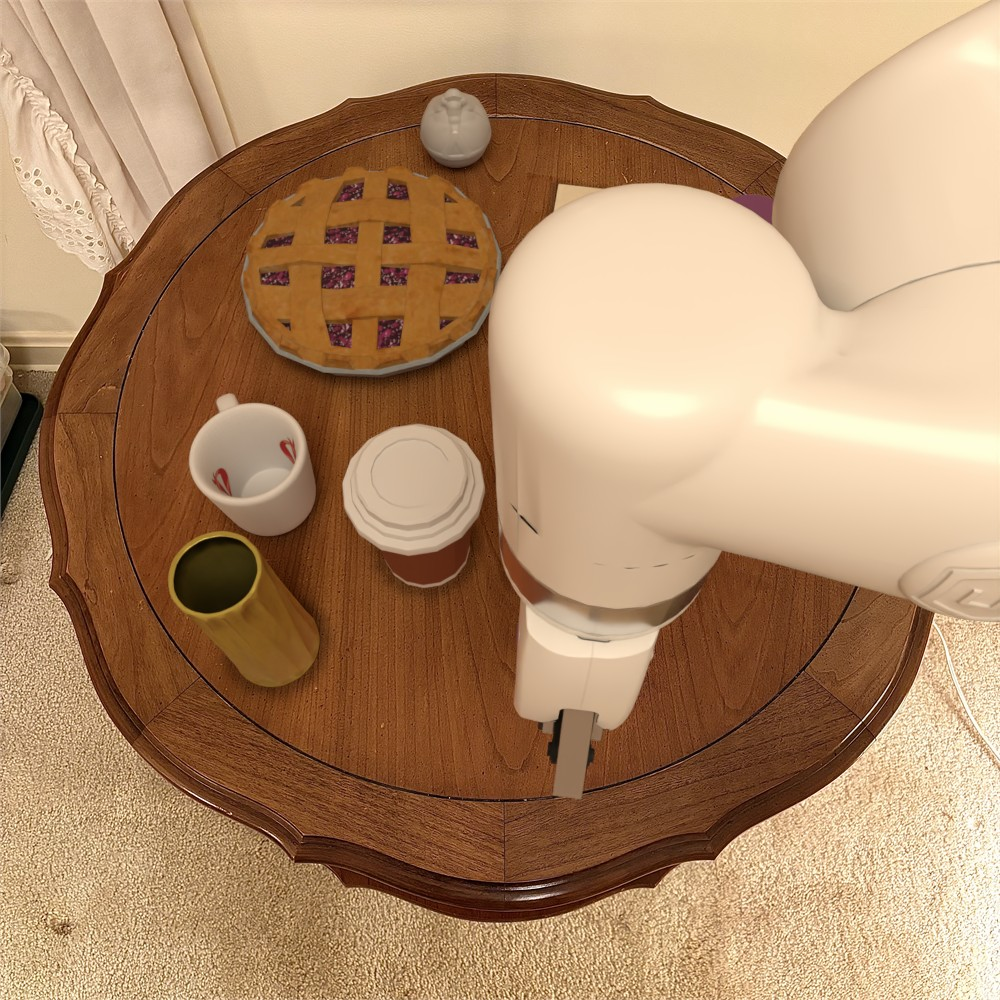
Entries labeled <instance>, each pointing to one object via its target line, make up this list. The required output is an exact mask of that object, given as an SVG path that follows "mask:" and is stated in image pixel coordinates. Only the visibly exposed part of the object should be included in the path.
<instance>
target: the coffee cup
mask: <svg viewBox="0 0 1000 1000" xmlns="http://www.w3.org/2000/svg"><path fill="white" fill-rule="evenodd" d="M341 488H342V498H343V499H342V500H343V508H344V512H345V514H346V515H347V517H348V519H349V520H350V523H352V525H353V528H354V529H355V530H356V532H357V534H358V535H359V536H360V537H361V538H363V539H365V540H366V541H367V542H369V543H370V544H372V545H373V546H375V547H376V548H378V550H379V552H380V553H381V555H382V557H383V559H384V561H385V563H386V565H387V566H388V568H389V570H390V571H391V573H392V575H393V576H394V577H396V578H397V579H399V580H400V581H401V582H403V583H405V584H406V585H409V586H413V587H417V588H422V589H426V588H433V587H439V586H442V585H444V584H446V583H448V582H449V581H451V580H452V579H454V578H456V577H457V576H458V575H459V573H460V572H461V571H462V570H463V568H464V567H465V566H466V565H467V561H468V558H469V553H470V551H471V538H472V529H473V524H474V523H475V522H476V520H477V519H478V518H479V516H480V514H481V509H482V506H483V501H484V498H485V494H486V485H485V479H484V473H483V468H482V463H481V462H480V460H479V458H478V457H477V455H475V453H474V451H473V450H472V449H471V447H470V445H469V444H468V442H466V441H465V440H463V439H461V438H460V437H458V436H457V435H455V434H454V433H451V432H450V431H449V430H447V429H445V428H443V427H437V426H433V425H427V424H423V423H414V424H407V425H406V424H405V425H400V426H393V427H390V428H388V429H386V430H384V431H382V432H380V433H379V434H377V435H374V436H373V437H371V438H369V439H367V441H366V442H364V443H363V445H362V446H361V447H360V448H359V449H358V450H357V452H356V453H355V454H354V455H353V456H352V457H351V458H350V460H349V463H348V466H347V468H346V471H345V475H344V477H343V480H342V483H341Z"/></svg>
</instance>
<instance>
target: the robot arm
mask: <svg viewBox="0 0 1000 1000" xmlns="http://www.w3.org/2000/svg"><path fill="white" fill-rule="evenodd" d="M602 189H603V190H599V191H596V192H593V193H590V194H586V195H584V196H582V197H580V198H578V199H576V200H574V201H572V202H569V203H567V204H565V205H563V206H562V207H560V208H559V209H557V210H556V211H554V210H553V211H552V212H551V213H550V214H548V215H547V216H546V217H544V218H543V219H542V220H541V221H540V222H539V223H538V224H536V225H535V226H534V227H533V228H532V229H531V230H529V231H528V232H527V233H526V235H525V236H524V237H523V238H522V239H521V241H520V242H519V243H518V245H517V246H516V247H515V248H514V249H513V251H512V253H511V255H510V256H509V257H508V260H507V261H506V263H505V265H504V267H503V269H502V270H501V272H500V277H499V279H498V282H497V285H496V289H495V292H494V295H493V298H492V302H491V307H490V311H489V313H488V335H487V336H488V337H487V354H488V355H487V357H488V374H489V391H490V407H491V424H492V440H493V443H492V444H493V454H494V455H493V456H494V463H495V491H496V505H497V520H498V521H497V522H498V543H499V545H498V546H499V551H500V559H501V563H502V567H503V570H504V572H505V575H506V577H507V579H508V580H509V582H510V584H511V587H512V588H513V590H514V591H515V593H516V595H517V596H518V597H519V598H520V603H519V613H518V614H519V615H518V621H519V628H518V645H517V659H516V665H515V681H514V682H515V683H514V692H513V708H514V709H515V711H516V713H517V715H518V716H519V717H520V718H521V719H524V720H529V721H533V722H538V723H537V729H538V730H541V734H543V735H550V736H552V739H551V741H548V743H547V751H546V756H547V757H549V761H550V764H551V765H555V766H554V775H553V785H552V796H555V797H562V798H568V799H573V800H574V799H575V800H582V797H583V791H584V785H585V778H586V773H587V772H586V770H588V769H589V767H590V764H591V763H592V764H593V763H594V760H595V751H596V749H595V748H593V747H592V745H593V744H592V743H591V742H597V743H601V742H602V738H603V733H604V731H605V730H608V731H614V730H616V729H617V728H619V727H620V726H621V725H622V724H623V723H625V721H626V720H627V719H628V717H629V716H630V714H631V713H632V710H633V708H634V706H635V703H636V702H637V700H638V697H639V694H640V691H641V689H642V686H643V683H644V681H645V677H646V674H647V671H648V668H649V665H650V662H651V661H652V660H653V658H654V655H655V654H654V653H655V650H654V649H655V646H656V643H657V640H658V636H659V633H660V630H661V629H662V628H664V627H666V626H668V625H670V624H671V623H672V622H674V620H676V619H677V618H678V617H679V616H681V615H682V614H684V612H685V611H686V610H687V609H688V608H689V607H690V605H691V604H693V602H694V601H695V599H697V597H698V595H699V593H700V592H701V590H702V588H703V586H704V585H705V583H706V581H707V579H708V578H709V576H710V574H711V572H712V570H713V569H714V567H715V565H716V563H717V562H718V560H719V558H720V556H721V553H722V552H726V553H730V554H735V555H738V556H743V557H746V558H750V559H755V560H758V561H762V562H763V561H764V562H768V563H771V564H775V565H779V566H782V567H786V568H790V569H793V570H796V571H799V572H804V573H808V574H811V575H815V576H818V577H821V578H825V579H829V580H832V581H837V582H839V583H844V584H847V585H851V586H855V587H858V588H862V589H866V590H870V591H874V592H876V593H880V594H885V595H888V596H891V597H896V598H900V599H904V600H908V601H910V602H911V603H912V604H914V605H916V606H918V607H920V608H922V609H924V610H926V611H930V612H932V613H934V614H938V615H941V616H945V617H949V618H954V619H959V620H964V621H974V622H983V623H1000V0H988V1H986V2H985V3H982V4H980V5H978V6H976V7H975V8H973V9H970V10H969V11H967V12H965V13H963V14H961V15H959V16H958V17H956V18H954V19H952V20H950V21H948V22H946V23H945V24H943V25H941V26H939V27H937V28H935V29H933V30H932V31H930V32H928V33H927V34H924V35H923V36H921V37H920V38H918V39H916V40H914V41H913V42H912V43H910V44H908V45H907V46H905V47H903V48H901V49H900V50H899V51H897V52H896V53H894V54H892V55H891V56H889V57H888V58H887V59H885V60H884V61H882V62H880V63H879V64H877V65H876V66H874V67H873V68H871V69H869V70H868V71H867V72H865V73H864V74H862V75H861V76H860V77H859V78H857V79H856V80H855V81H853V82H852V83H851V84H849V86H847V88H845V89H844V90H843V91H842V92H840V93H839V94H838V95H837V96H836V97H835V98H834V99H832V100H831V101H830V102H829V103H828V104H827V105H825V106H824V108H822V109H821V111H820V112H819V113H818V114H817V115H816V116H815V117H814V118H813V120H811V122H810V123H809V124H808V125H807V126H806V128H805V129H804V130H803V131H802V132H801V134H800V135H799V137H798V138H797V140H796V141H795V142H794V144H793V145H792V148H791V149H790V152H789V153H788V156H787V158H786V160H785V162H784V164H783V166H782V168H781V169H780V173H779V175H778V179H777V184H776V186H775V193H774V197H773V199H774V202H773V212H772V225H771V224H769V223H768V222H767V221H765V220H764V219H762V218H761V217H760V216H758V215H757V214H756V213H754V212H753V211H751V210H749V209H747V208H746V207H744V206H742V205H740V204H738V203H736V202H734V201H732V200H730V199H731V198H729V197H728V198H727V197H725V196H722V195H720V194H717V193H714V192H711V191H709V190H705V189H701V188H697V187H696V188H695V187H692V186H688V185H683V184H672V183H663V182H662V183H661V182H647V183H644V182H642V183H640V182H639V183H630V184H623V185H617V186H616V185H615V186H611V187H606V188H602Z"/></svg>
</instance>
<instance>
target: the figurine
mask: <svg viewBox="0 0 1000 1000" xmlns="http://www.w3.org/2000/svg"><path fill="white" fill-rule="evenodd" d="M419 138H420V140H421V143H422V145H423V147H424V148H425V150H426V151H427V152H428V155H429V156H430V157H431V158H432V159H433V160H434V161H435V162H436V163H438V164H439V165H442V166H444V167H447V168H451V169H460V168H461V169H462V168H466V167H469V166H471V165H473V164H475V163H476V162H477V161H478V160H480V159H481V158H482V156H483V155H484V153H485V152H486V150H487V148H488V145H489V144H490V142H491V138H492V127H491V121H490V117H489V115H488V112H487V111H486V109H485V108H484V105H483V104H482V102H481V101H480V100H479V98H477V97H476V96H475V95H472V94H470V93H466V92H463V91H461V90H459V89H458V88H454V87H453V88H449V89H447V90H446V91H445V92H444V93H441V94H439V95H436V96H434V97H433V98H431V100H430V101H429V102H428V104H427V106H426V107H425V109H424V112H423V114H422V117H421V121H420V129H419Z"/></svg>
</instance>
